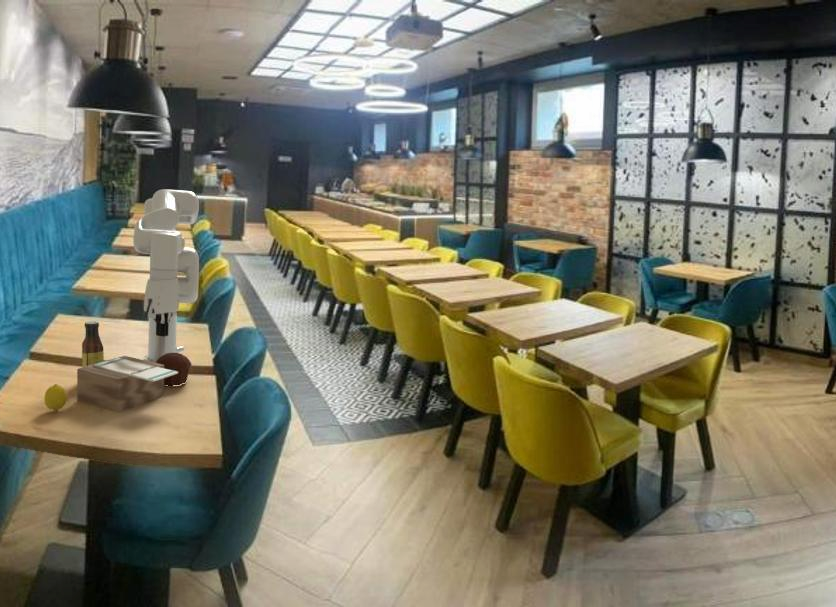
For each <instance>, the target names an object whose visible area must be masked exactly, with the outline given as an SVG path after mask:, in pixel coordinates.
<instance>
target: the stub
mask: <svg viewBox="0 0 836 607" xmlns="http://www.w3.org/2000/svg"><path fill="white" fill-rule="evenodd" d="M175 374H178V372H177V371H174V370H168V369H164V368H160V367H155V368H152V369H149V370H146V371H143V372H139V373H136V374H133V375H132V376H133V377H137V378H141V379H145V380H149V381H153V382H155V381H157V380H160V379H163V378H166V377H169V376H172V375H175Z"/></svg>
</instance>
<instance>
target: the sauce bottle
mask: <svg viewBox="0 0 836 607" xmlns="http://www.w3.org/2000/svg"><path fill="white" fill-rule="evenodd" d="M99 327H100V323H99V321H96V320H94V321H93V320H91V321H86V322H84V328H85V334H84V335H85V337H84V340H83V341H82V344H81V349H82V350H81V357H82V359H81V360H82V361H81V363H82V367H86V366H89V365H93V364H96V363H100V362H104V361H105V358H104V357H105V356H104V354H105V353H104V345H103V343H102V339H101V337H100V333H99ZM82 367H81V368H82Z"/></svg>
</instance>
